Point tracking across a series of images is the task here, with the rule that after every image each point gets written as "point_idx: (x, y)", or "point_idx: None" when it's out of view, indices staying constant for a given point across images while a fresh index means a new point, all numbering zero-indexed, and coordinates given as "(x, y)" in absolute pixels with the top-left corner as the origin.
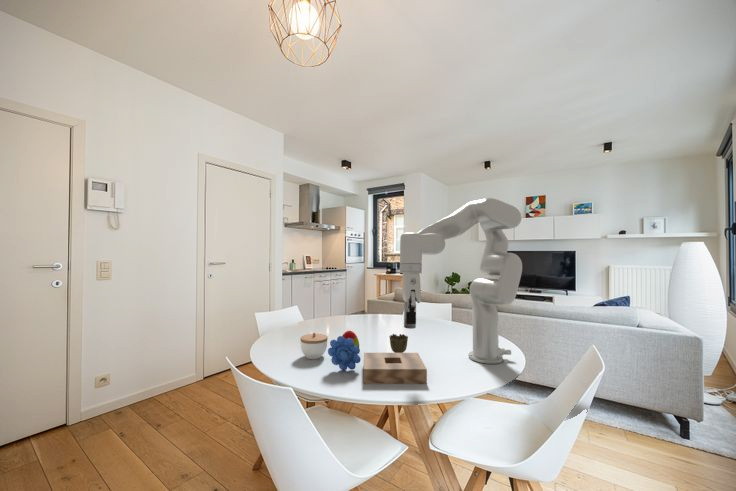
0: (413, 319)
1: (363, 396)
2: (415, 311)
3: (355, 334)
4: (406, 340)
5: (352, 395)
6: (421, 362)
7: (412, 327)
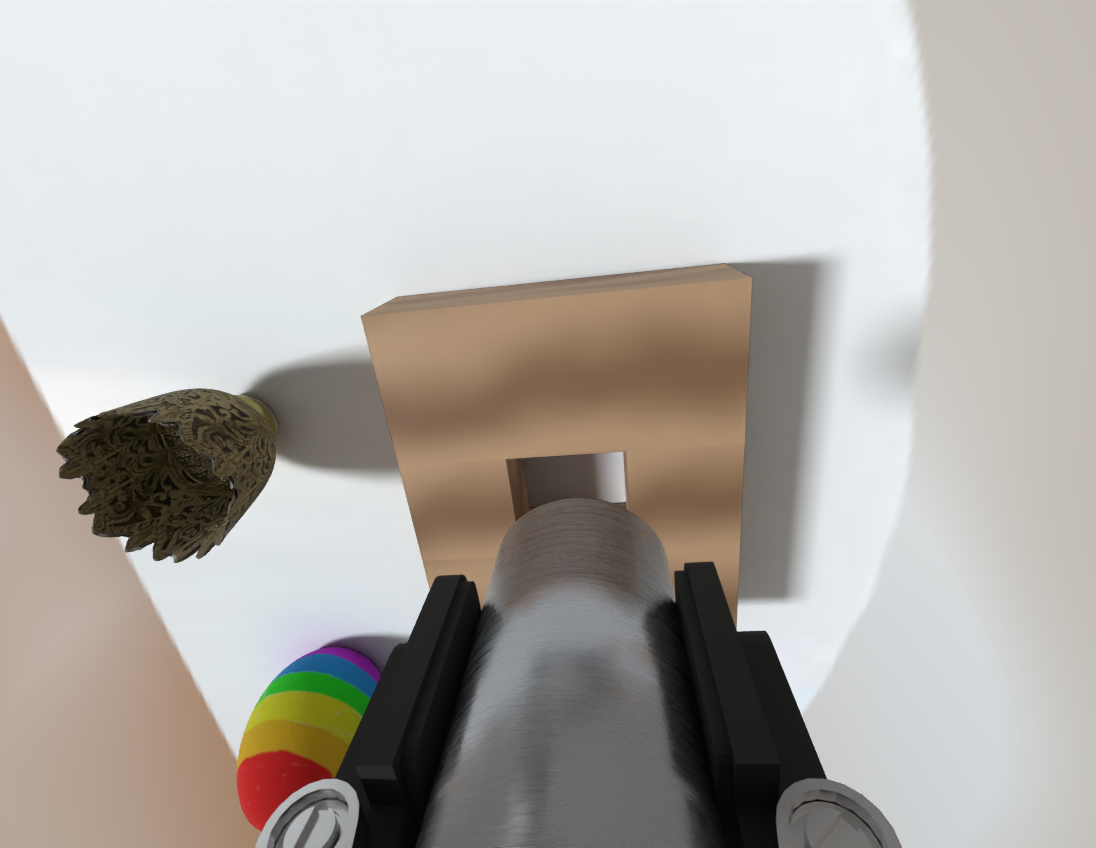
0: (775, 664)
1: (862, 592)
2: (886, 825)
3: (261, 770)
4: (182, 418)
5: (845, 632)
6: (600, 306)
7: (664, 557)
